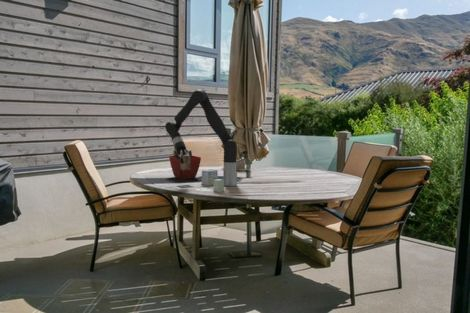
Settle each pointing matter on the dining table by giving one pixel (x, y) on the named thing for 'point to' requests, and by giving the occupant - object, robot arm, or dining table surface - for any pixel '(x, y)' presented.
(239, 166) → the cookie jar
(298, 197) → the dining table surface
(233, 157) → the robot arm
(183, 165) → the walnut block
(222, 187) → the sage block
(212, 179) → the light bulb box
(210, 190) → the lettered tile
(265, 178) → the dining table surface
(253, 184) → the dining table surface
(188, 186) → the slate coaster
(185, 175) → the plant pot
